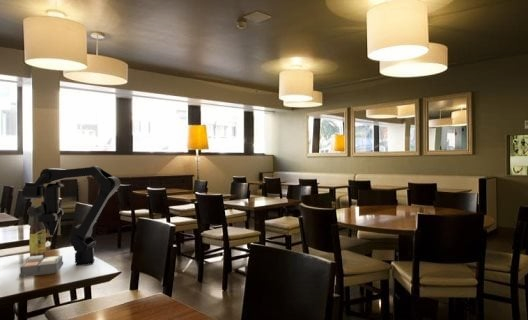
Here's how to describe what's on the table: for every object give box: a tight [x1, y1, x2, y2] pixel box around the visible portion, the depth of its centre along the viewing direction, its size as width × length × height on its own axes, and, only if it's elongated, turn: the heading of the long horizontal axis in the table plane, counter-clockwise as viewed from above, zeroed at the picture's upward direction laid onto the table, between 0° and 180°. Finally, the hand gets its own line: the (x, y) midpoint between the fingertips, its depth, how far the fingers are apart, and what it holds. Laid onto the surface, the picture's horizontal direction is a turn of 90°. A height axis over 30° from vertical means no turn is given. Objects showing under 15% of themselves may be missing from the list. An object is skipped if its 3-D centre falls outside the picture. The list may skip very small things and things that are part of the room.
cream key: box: [41, 258, 57, 265], centre depth 145 cm, size 4×4×2 cm
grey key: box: [27, 255, 44, 262], centre depth 148 cm, size 4×4×2 cm
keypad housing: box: [19, 255, 64, 278], centre depth 147 cm, size 12×12×4 cm
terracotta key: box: [23, 262, 40, 267], centre depth 143 cm, size 4×4×2 cm
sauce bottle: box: [28, 213, 47, 258], centre depth 167 cm, size 7×6×20 cm
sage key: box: [46, 255, 61, 259], centre depth 150 cm, size 4×4×2 cm
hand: (51, 235), depth 155 cm, fingers closed
